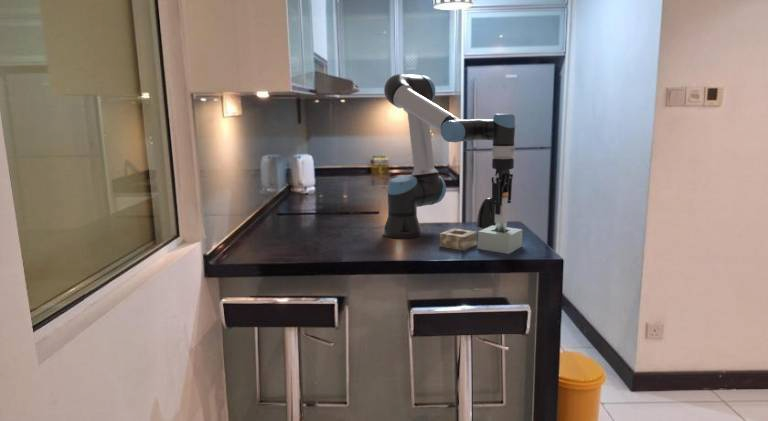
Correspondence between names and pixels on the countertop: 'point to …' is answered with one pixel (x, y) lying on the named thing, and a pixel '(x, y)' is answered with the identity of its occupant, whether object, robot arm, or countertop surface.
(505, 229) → the pin
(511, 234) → the dock
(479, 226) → the pump dispenser
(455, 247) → the block
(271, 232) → the countertop surface
